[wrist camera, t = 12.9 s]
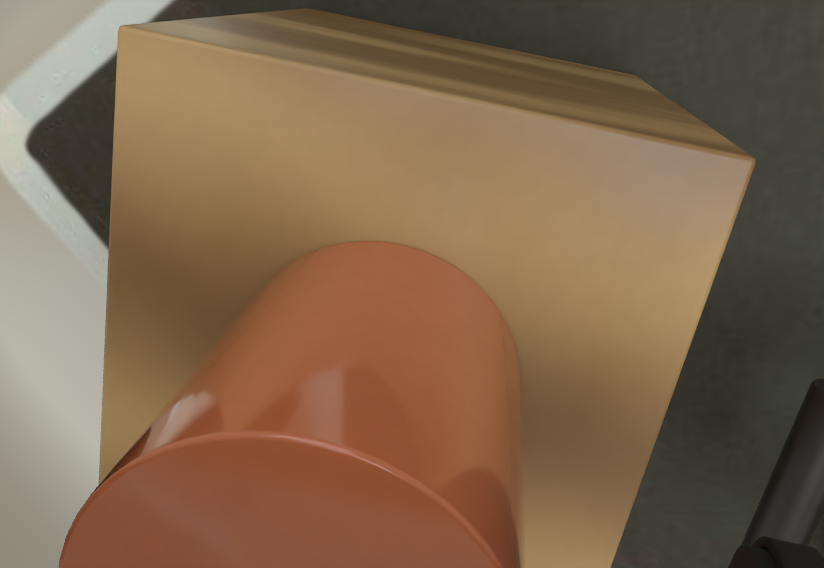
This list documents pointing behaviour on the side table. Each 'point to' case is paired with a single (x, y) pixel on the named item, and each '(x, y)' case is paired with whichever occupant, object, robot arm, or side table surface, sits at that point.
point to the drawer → (795, 479)
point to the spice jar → (330, 432)
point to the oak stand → (421, 223)
